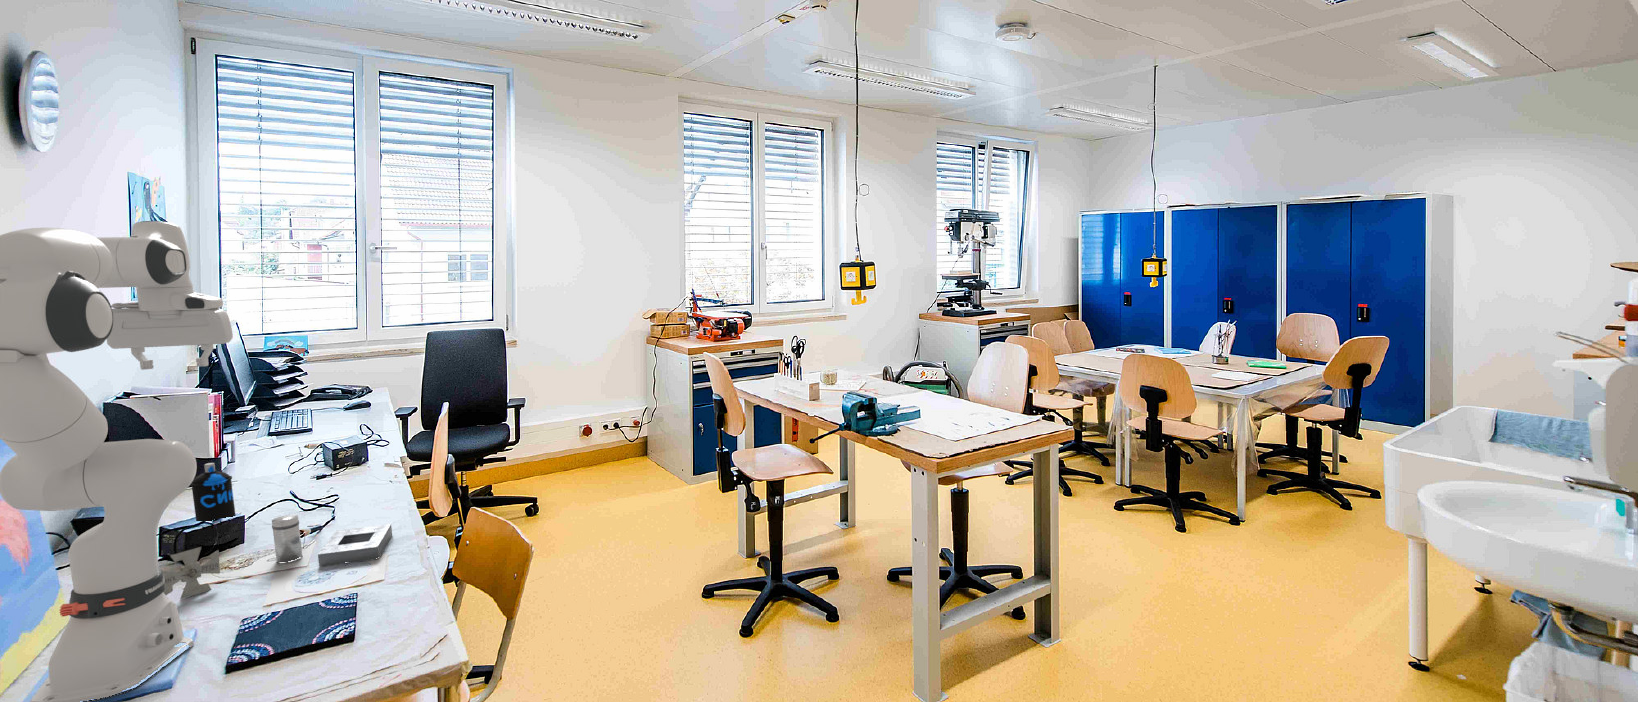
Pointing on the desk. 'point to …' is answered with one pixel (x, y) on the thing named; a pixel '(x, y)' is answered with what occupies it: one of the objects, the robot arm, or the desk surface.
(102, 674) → the robot arm
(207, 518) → the aerosol can
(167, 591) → the cross
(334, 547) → the grey rectangular frame
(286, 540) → the cylinder
